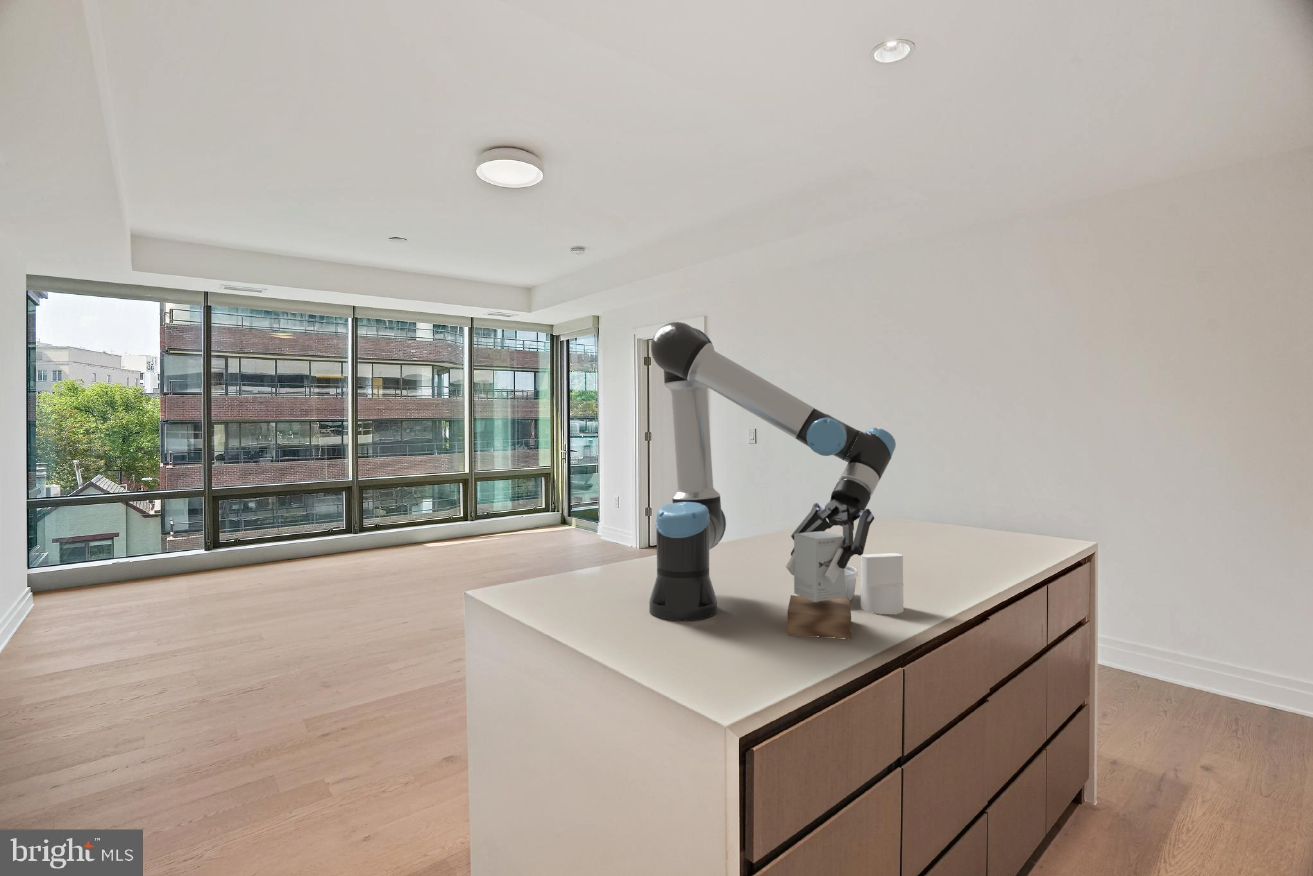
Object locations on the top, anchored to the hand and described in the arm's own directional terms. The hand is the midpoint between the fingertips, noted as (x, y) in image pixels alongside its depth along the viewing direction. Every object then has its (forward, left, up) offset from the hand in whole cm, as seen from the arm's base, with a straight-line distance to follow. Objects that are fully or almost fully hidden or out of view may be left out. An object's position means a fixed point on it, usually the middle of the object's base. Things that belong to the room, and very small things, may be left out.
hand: (809, 575), depth 128 cm
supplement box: (+2, +2, -5) cm, 6 cm away
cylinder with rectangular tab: (+18, +16, -11) cm, 27 cm away
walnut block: (+2, +2, -12) cm, 12 cm away
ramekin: (+8, +25, -12) cm, 29 cm away
